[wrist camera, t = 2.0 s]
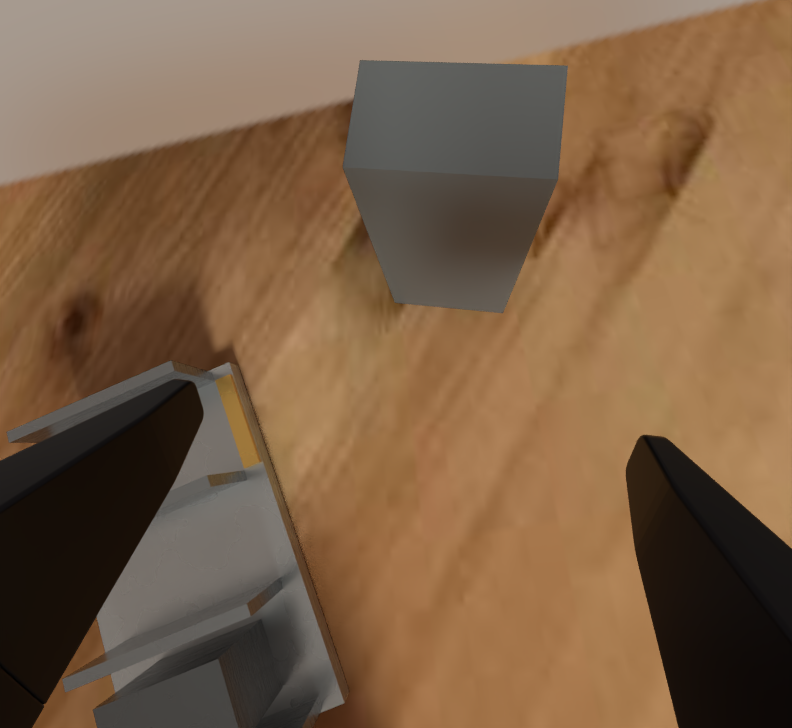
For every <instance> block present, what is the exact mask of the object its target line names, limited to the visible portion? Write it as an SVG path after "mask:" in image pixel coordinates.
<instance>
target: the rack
mask: <svg viewBox="0 0 792 728" xmlns="http://www.w3.org/2000/svg"><path fill="white" fill-rule="evenodd" d="M172 379H182V380H190V381H193V382H194V383H195V384H196V387H197V390H198V393H199V396H200V400H201V403H202V406H203V410H204V417H203V421H202V423H201V425H200V428H199V430H198V432H197V434H196V436H195V439H194V441H193V443H192V445H191V448H190V450H189V452H188V454H187V457H186V459H185V461H184V463H183V465H182V468H181V470H180V472H179V474H178V476H177V478H176V480H175V482H174V484H173V486H172V488H171V489H170V491H169V493H168V495H167V496H166V498H165V500H164V502H163V503H162V505H161V507H160V508H159V510H158V512H157V514H156V515H155V517H154V519H153V520H152V522H151V524H150V526H149V527H148V529H147V531H146V532H145V534H144V536H143V538H142V539H141V541H140V543H139V544H138V546H137V548H136V550H135V551H134V553H133V555H132V556H131V558H130V560H129V562H128V563H127V565H126V567H125V568H124V570H123V572H122V574H121V575H120V577H119V579H118V580H117V582H116V584H115V586H114V587H113V589H112V591H111V592H110V594H109V596H108V598H107V599H106V601H105V603H104V604H103V606H102V608H101V610H100V611H99V613H98V615H97V620H98V624H99V629H100V633H101V637H102V641H103V645H104V649H105V653H104V654H103V655H101V656H100V657H98V658H96V659H95V660H93V661H91V662H90V663H88V664H86V665H85V666H83V667H81V668H80V669H78V670H77V671H75V672H73V673H72V674H70V675H68V676H67V677H65V678H63V679H62V680H63V685H64V689H65V692H68V691H70V690H73V689H75V688H78V687H80V686H82V685H85V684H87V683H90V682H92V681H95V680H97V679H100V678H102V677H104V676H107V675H109V674H111V677H112V682H113V686H114V690H115V694H113V695H112V696H111V697H109V698H108V699H107V700H105V701H104V702H103V703H101V704H100V705H99V706H97V707H96V708H95V709H93V712H94V716H95V720H96V725H97V728H313V726H314V724H315V722H316V720H317V718H318V716H319V714H320V713H321V712H324V711H326V710H329V709H331V708H334V707H336V706H339V705H341V704H344V703H345V701H346V698H347V696H348V693H349V688H348V685H347V683H346V680H345V677H344V674H343V671H342V668H341V665H340V662H339V659H338V656H337V653H336V650H335V647H334V645H333V642H332V639H331V636H330V633H329V630H328V627H327V624H326V621H325V618H324V615H323V612H322V609H321V607H320V604H319V601H318V598H317V595H316V592H315V589H314V586H313V583H312V580H311V577H310V574H309V571H308V569H307V566H306V563H305V560H304V557H303V554H302V551H301V548H300V545H299V542H298V539H297V536H296V533H295V530H294V528H293V525H292V522H291V519H290V516H289V513H288V510H287V507H286V504H285V501H284V498H283V495H282V492H281V490H280V487H279V484H278V481H277V478H276V475H275V472H274V469H273V466H272V463H271V460H270V457H269V454H268V452H267V449H266V446H265V443H264V440H263V437H262V434H261V431H260V428H259V425H258V422H257V419H256V416H255V414H254V411H253V408H252V405H251V402H250V399H249V396H248V393H247V390H246V387H245V384H244V381H243V378H242V376H241V373H240V370H239V367H238V365H236V364H233V363H230V362H228V363H226V364H223V365H221V366H219V367H216V368H214V369H212V370H209V371H206V370H202V369H199V368H195V367H192V366H189V365H185V364H182V363H179V362H175V361H172V360H171V361H168V362H166V363H164V364H162V365H159V366H157V367H155V368H152V369H150V370H148V371H145V372H143V373H141V374H139V375H136V376H134V377H132V378H129V379H127V380H125V381H123V382H120V383H118V384H116V385H113V386H111V387H109V388H106V389H104V390H102V391H100V392H97V393H95V394H93V395H90V396H88V397H86V398H84V399H81V400H79V401H77V402H74V403H72V404H70V405H68V406H65V407H63V408H61V409H58V410H56V411H54V412H51V413H49V414H47V415H45V416H42V417H40V418H38V419H35V420H33V421H31V422H29V423H26V424H24V425H22V426H19V427H17V428H15V429H12V430H10V431H8V432H7V436H8V440H9V443H39V442H41V441H43V440H45V439H47V438H50V437H52V436H54V435H56V434H58V433H60V432H62V431H64V430H66V429H69V428H71V427H73V426H75V425H77V424H79V423H81V422H83V421H85V420H88V419H90V418H92V417H94V416H96V415H98V414H100V413H102V412H104V411H107V410H109V409H111V408H113V407H115V406H117V405H119V404H121V403H124V402H126V401H128V400H130V399H132V398H134V397H136V396H138V395H140V394H143V393H145V392H147V391H149V390H151V389H153V388H155V387H157V386H159V385H162V384H164V383H166V382H168V381H170V380H172Z"/></svg>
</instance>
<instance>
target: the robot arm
mask: <svg viewBox="0 0 792 728" xmlns="http://www.w3.org/2000/svg"><path fill="white" fill-rule="evenodd" d="M203 417H204V410H203V406H202V403H201V400H200V396H199V393H198V390H197V387H196V384H195V383H194V382H193V381H190V380H182V379H172V380H170V381H168V382H166V383H164V384H162V385H159V386H157V387H155V388H153V389H151V390H149V391H147V392H145V393H143V394H140V395H138V396H136V397H134V398H132V399H130V400H128V401H126V402H124V403H121V404H119V405H117V406H115V407H113V408H111V409H109V410H107V411H104V412H102V413H100V414H98V415H96V416H94V417H92V418H90V419H88V420H85V421H83V422H81V423H79V424H77V425H75V426H73V427H71V428H69V429H66V430H64V431H62V432H60V433H58V434H56V435H54V436H52V437H50V438H47V439H45V440H43V441H41V442H39V443H37V444H35V445H33V446H30V447H28V448H26V449H24V450H22V451H20V452H18V453H16V454H14V455H11V456H9V457H7V458H5V459H3V460H1V461H0V728H32V727H33V725H34V723H35V722H36V720H37V718H38V716H39V715H40V713H41V711H42V710H43V708H44V705H43V704H45V703H46V702H47V700H48V699H49V697H50V695H51V694H52V692H53V690H54V688H55V687H56V685H57V683H58V682H59V680H60V678H61V676H62V675H63V673H64V671H65V670H66V668H67V666H68V664H69V663H70V661H71V659H72V658H73V656H74V654H75V652H76V651H77V649H78V647H79V646H80V644H81V642H82V640H83V639H84V637H85V635H86V634H87V632H88V630H89V628H90V627H91V625H92V623H93V622H94V620H95V618H96V616H97V615H98V613H99V611H100V610H101V608H102V606H103V604H104V603H105V601H106V599H107V598H108V596H109V594H110V592H111V591H112V589H113V587H114V586H115V584H116V582H117V580H118V579H119V577H120V575H121V574H122V572H123V570H124V568H125V567H126V565H127V563H128V562H129V560H130V558H131V556H132V555H133V553H134V551H135V550H136V548H137V546H138V544H139V543H140V541H141V539H142V538H143V536H144V534H145V532H146V531H147V529H148V527H149V526H150V524H151V522H152V520H153V519H154V517H155V515H156V514H157V512H158V510H159V508H160V507H161V505H162V503H163V502H164V500H165V498H166V496H167V495H168V493H169V491H170V489H171V488H172V486H173V484H174V482H175V480H176V478H177V476H178V474H179V472H180V470H181V468H182V465H183V463H184V461H185V459H186V457H187V454H188V452H189V450H190V448H191V445H192V443H193V441H194V439H195V436H196V434H197V432H198V430H199V428H200V425H201V423H202V421H203ZM626 482H627V490H628V498H629V507H630V515H631V523H632V531H633V539H634V546H635V552H636V557H637V561H638V566H639V570H640V574H641V578H642V582H643V586H644V590H645V594H646V598H647V602H648V606H649V610H650V614H651V618H652V622H653V626H654V630H655V634H656V638H657V642H658V646H659V651H660V655H661V659H662V663H663V667H664V671H665V675H666V679H667V683H668V687H669V691H670V695H671V699H672V703H673V707H674V711H675V715H676V719H677V723H678V727H679V728H792V549H791V548H790V547H789V546H788V545H787V544H786V543H785V542H784V541H782V540H781V539H780V538H779V537H778V536H777V535H776V534H775V533H773V532H772V531H771V530H770V529H769V528H768V527H767V526H765V525H764V524H763V523H762V522H761V521H760V520H759V519H758V518H756V517H755V516H754V515H753V514H752V513H751V512H750V511H749V510H747V509H746V508H745V507H744V506H743V505H742V504H741V503H740V502H738V501H737V500H736V499H735V498H734V497H733V496H732V495H730V494H729V493H728V492H727V491H726V490H725V489H724V488H723V487H721V486H720V485H719V484H718V483H717V482H716V481H715V480H714V479H712V478H711V477H710V476H709V475H708V474H707V473H706V472H704V471H703V470H702V469H701V468H700V467H699V466H698V465H697V464H695V463H694V462H693V461H692V460H691V459H690V458H689V457H688V456H686V455H685V454H684V453H683V452H682V451H681V450H680V449H678V448H677V447H676V446H675V445H674V444H673V443H672V442H671V441H669V440H668V439H667V438H665V437H661V436H653V435H642V436H640V437H639V439H638V440H637V443H636V445H635V447H634V449H633V452H632V454H631V456H630V459H629V461H628V463H627V467H626Z"/></svg>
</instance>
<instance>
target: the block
mask: <svg viewBox="0 0 792 728" xmlns="http://www.w3.org/2000/svg"><path fill="white" fill-rule="evenodd" d="M567 69H568V66H559V65H520V64H482V63H443V62H441V63H440V62H404V61H402V62H401V61H366V60H360V64H359V71H358V77H357V83H356V89H355V95H354V101H353V107H352V113H351V119H350V125H349V131H348V137H347V144H346V150H345V156H344V162H343V169H344V172H345V175H346V177H347V180H348V182H349V185H350V188H351V190H352V193H353V195H354V198H355V200H356V203H357V206H358V208H359V211H360V213H361V216H362V219H363V221H364V224H365V226H366V229H367V232H368V234H369V237H370V239H371V242H372V244H373V247H374V250H375V252H376V255H377V257H378V260H379V263H380V265H381V268H382V270H383V273H384V275H385V278H386V281H387V283H388V286H389V288H390V291H391V294H392V296H393V299H394V301H395V303H404V304H414V305H424V306H435V307H445V308H455V309H466V310H476V311H486V312H497V313H503V312H504V309H505V307H506V304H507V302H508V299H509V297H510V295H511V292H512V290H513V287H514V285H515V282H516V280H517V278H518V275H519V273H520V270H521V268H522V265H523V263H524V261H525V258H526V256H527V253H528V251H529V248H530V246H531V244H532V241H533V239H534V236H535V234H536V232H537V229H538V227H539V224H540V222H541V219H542V217H543V215H544V212H545V210H546V207H547V205H548V202H549V200H550V198H551V195H552V193H553V190H554V188H555V185H556V183H557V181H558V173H559V161H560V150H561V138H562V127H563V115H564V103H565V92H566V80H567Z"/></svg>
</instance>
